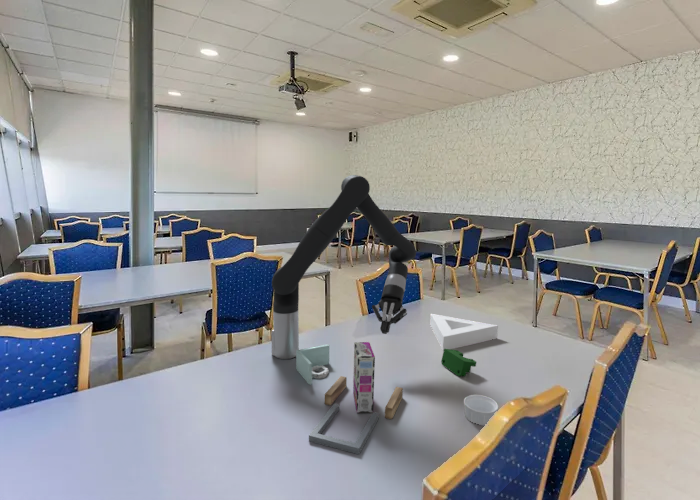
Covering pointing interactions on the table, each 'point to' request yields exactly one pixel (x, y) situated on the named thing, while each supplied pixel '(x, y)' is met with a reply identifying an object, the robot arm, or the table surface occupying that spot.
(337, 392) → the oak rails
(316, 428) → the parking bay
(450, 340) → the triangle block
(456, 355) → the clamp
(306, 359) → the right angle wall
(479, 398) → the ramekin
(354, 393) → the candy bar box
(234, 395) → the table surface
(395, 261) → the robot arm
